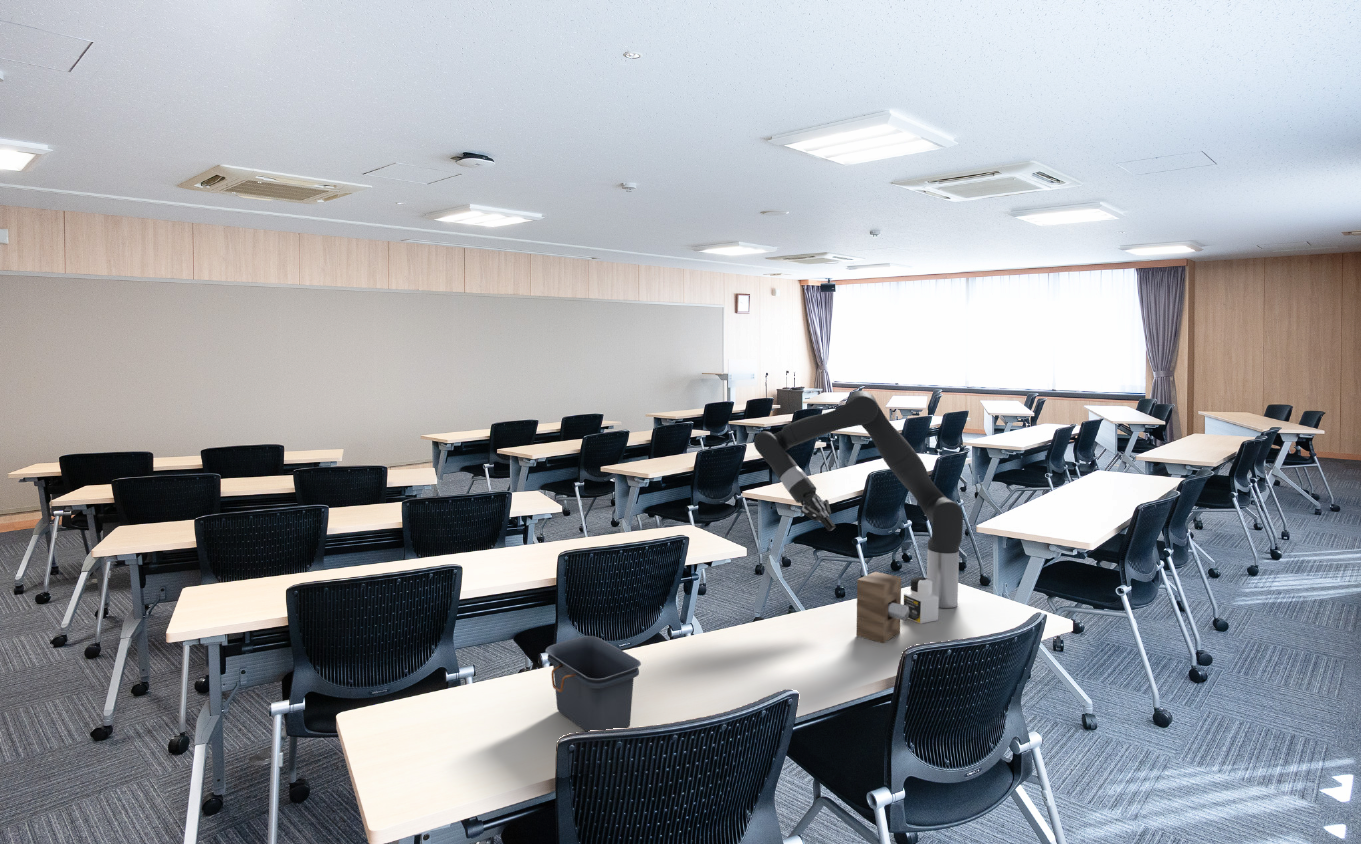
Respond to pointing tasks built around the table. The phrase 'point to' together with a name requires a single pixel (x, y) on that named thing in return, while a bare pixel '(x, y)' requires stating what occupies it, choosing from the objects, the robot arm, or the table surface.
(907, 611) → the pin
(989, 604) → the table surface
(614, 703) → the storage bin
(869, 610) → the post
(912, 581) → the medicine bottle
